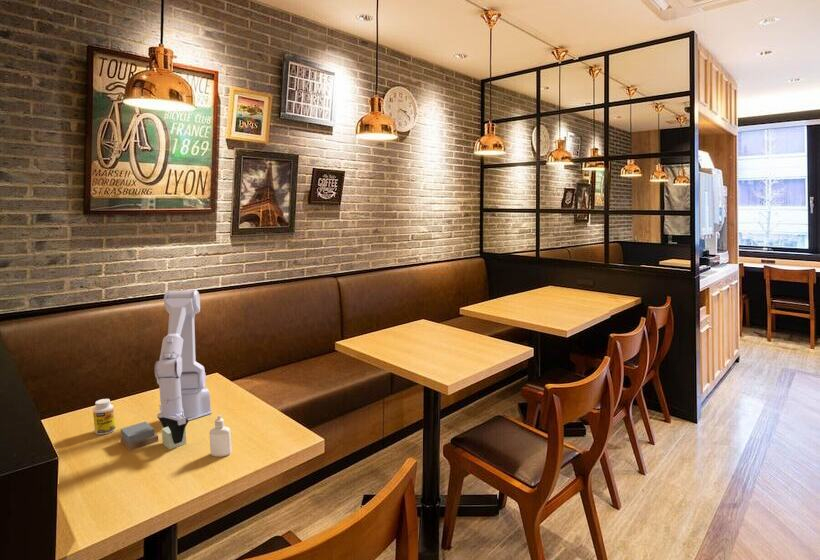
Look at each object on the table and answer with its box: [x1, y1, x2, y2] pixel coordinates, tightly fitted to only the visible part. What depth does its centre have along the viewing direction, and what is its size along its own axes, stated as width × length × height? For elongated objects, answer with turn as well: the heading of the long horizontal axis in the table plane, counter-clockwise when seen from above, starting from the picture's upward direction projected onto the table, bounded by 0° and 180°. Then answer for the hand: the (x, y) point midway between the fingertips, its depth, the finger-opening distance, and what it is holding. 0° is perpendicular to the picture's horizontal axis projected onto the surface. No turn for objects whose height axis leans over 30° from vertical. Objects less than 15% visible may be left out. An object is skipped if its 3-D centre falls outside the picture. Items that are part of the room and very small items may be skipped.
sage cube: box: [161, 427, 187, 450], centre depth 148 cm, size 5×5×5 cm
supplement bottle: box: [92, 398, 116, 436], centre depth 155 cm, size 6×6×10 cm
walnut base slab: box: [119, 432, 159, 452], centre depth 149 cm, size 8×8×2 cm
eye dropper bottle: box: [209, 414, 233, 458], centre depth 142 cm, size 4×6×12 cm
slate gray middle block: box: [120, 421, 155, 445], centre depth 149 cm, size 7×7×2 cm
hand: (174, 439), depth 148 cm, fingers closed on sage cube, 5 cm apart
